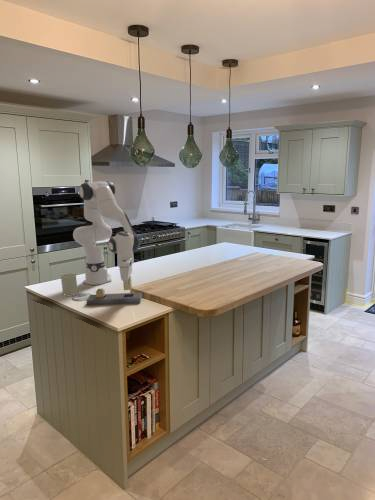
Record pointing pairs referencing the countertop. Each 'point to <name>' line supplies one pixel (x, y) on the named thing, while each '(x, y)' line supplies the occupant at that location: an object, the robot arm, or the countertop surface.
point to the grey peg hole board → (115, 299)
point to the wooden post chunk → (128, 285)
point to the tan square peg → (100, 293)
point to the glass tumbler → (69, 284)
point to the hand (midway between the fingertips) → (127, 284)
